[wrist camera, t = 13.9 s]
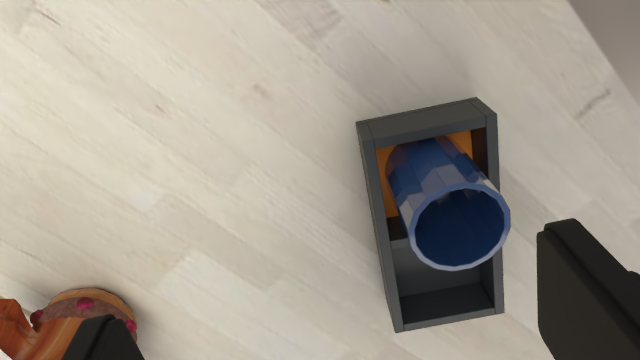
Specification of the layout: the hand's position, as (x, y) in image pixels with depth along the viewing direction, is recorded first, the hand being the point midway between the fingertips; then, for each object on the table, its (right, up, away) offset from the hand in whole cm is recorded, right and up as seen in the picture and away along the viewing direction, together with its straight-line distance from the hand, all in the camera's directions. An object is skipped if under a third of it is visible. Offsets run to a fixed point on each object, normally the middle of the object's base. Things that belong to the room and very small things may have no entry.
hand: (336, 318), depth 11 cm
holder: (+9, +1, +30) cm, 31 cm away
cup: (+8, +4, +28) cm, 29 cm away
